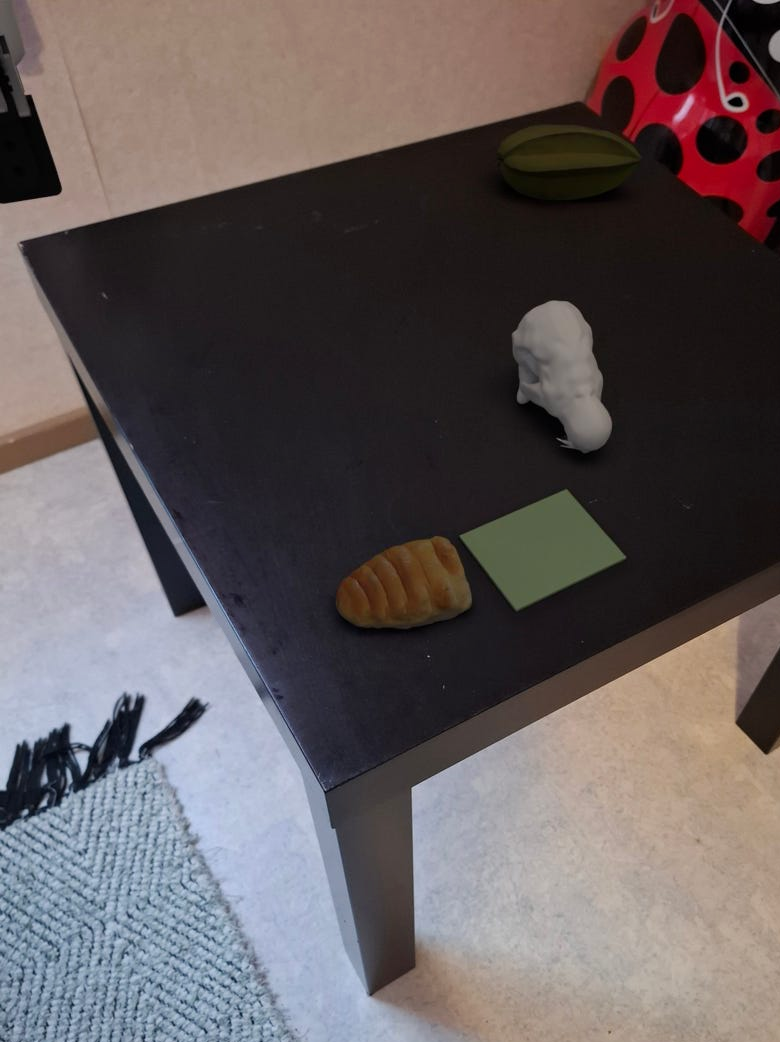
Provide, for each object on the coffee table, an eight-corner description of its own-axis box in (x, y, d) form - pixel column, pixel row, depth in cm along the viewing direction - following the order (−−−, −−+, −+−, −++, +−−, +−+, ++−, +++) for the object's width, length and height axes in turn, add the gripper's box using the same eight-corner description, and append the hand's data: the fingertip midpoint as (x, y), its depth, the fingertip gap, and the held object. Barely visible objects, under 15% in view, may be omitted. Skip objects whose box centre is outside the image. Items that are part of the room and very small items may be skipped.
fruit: (556, 151, 101) (564, 88, 96) (638, 197, 97) (651, 135, 91) (484, 187, 96) (488, 123, 91) (567, 238, 92) (577, 174, 87)
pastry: (355, 655, 63) (351, 623, 60) (323, 583, 66) (318, 550, 63) (478, 614, 65) (481, 581, 62) (442, 547, 69) (443, 512, 66)
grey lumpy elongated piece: (582, 281, 74) (650, 386, 69) (563, 360, 81) (624, 460, 76) (511, 297, 72) (575, 406, 67) (499, 376, 79) (556, 479, 74)
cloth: (515, 612, 66) (516, 609, 65) (459, 538, 69) (459, 535, 69) (625, 559, 69) (626, 557, 69) (566, 491, 73) (566, 488, 72)
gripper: (-294, -397, 33) (-67, 127, 48) (-314, -283, 25) (-37, 294, 40) (-69, -397, 34) (81, 107, 50) (-26, -291, 27) (135, 263, 42)
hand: (28, 190), depth 45 cm, fingers closed
